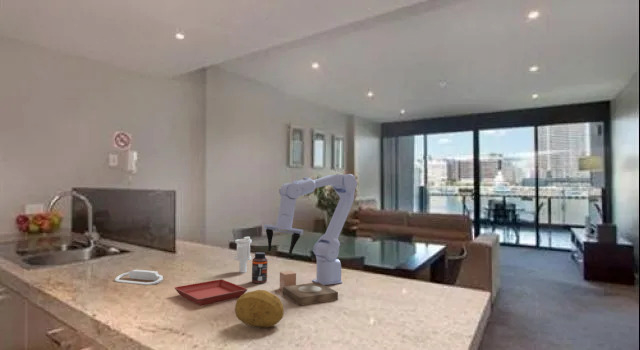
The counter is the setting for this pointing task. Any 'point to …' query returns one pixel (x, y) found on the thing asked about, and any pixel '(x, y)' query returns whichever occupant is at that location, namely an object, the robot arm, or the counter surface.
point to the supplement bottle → (259, 268)
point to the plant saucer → (211, 292)
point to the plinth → (310, 293)
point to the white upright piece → (243, 253)
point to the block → (287, 279)
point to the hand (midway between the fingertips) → (279, 252)
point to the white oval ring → (141, 277)
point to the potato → (259, 309)
